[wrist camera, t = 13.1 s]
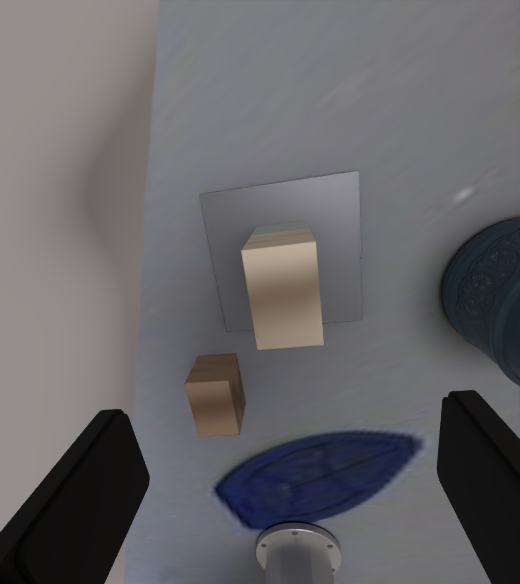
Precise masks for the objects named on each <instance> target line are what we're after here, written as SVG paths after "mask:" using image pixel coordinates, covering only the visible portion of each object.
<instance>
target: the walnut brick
mask: <svg viewBox="0 0 520 584" xmlns="http://www.w3.org/2000/svg"><path fill="white" fill-rule="evenodd" d="M185 386H186V390H187V394H188V398H189V401H190V405H191V409H192V412H193V416H194V420H195V424H196V427H197V431H198V435H199V437H206V436H232V435H240V430H241V425H242V420H243V415H244V409H245V404H246V402H245V397H244V392H243V387H242V381H241V376H240V371H239V366H238V360H237V355H236V354H225V355H212V356H199V357H198V358H197V360H196V362H195V364H194V366H193V368H192V370H191V372H190V374H189V376H188V378H187V380H186V382H185Z"/></svg>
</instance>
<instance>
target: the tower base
mask: <svg viewBox="0 0 520 584" xmlns="http://www.w3.org/2000/svg"><path fill="white" fill-rule="evenodd" d="M199 195H200V201H201V206H202V211H203V216H204V221H205V226H206V231H207V236H208V241H209V246H210V251H211V256H212V261H213V266H214V271H215V276H216V281H217V286H218V291H219V296H220V301H221V306H222V311H223V316H224V321H225V326H226V331H227V332H230V331H242V330H253V329H254V325H253V319H252V313H251V307H250V301H249V295H248V289H247V283H246V277H245V271H244V265H243V259H242V253H241V250H242V249H243V247H244V246H245V244H246V243H247V241H248V240H249V238H250V237H251V236H257V235H265V234H272V233H280V232H288V231H296V230H304V229H310V230H311V232H312V234H313V237H314V239H315V241H316V251H317V264H318V277H319V289H320V302H321V315H322V324H324V323H336V322H347V321H359V320H362V282H361V242H360V202H359V171H354V172H347V173H341V174H334V175H327V176H320V177H314V178H307V179H300V180H293V181H287V182H280V183H273V184H266V185H260V186H253V187H246V188H239V189H233V190H226V191H219V192H212V193H206V194H199Z"/></svg>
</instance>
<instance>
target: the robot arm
mask: <svg viewBox="0 0 520 584" xmlns="http://www.w3.org/2000/svg"><path fill="white" fill-rule="evenodd" d="M437 474H438V478H439V481H440V483H441V485H442V487H443V489H444V491H445V493H446V495H447V497H448V499H449V501H450V503H451V505H452V507H453V509H454V511H455V513H456V515H457V517H458V519H459V521H460V523H461V525H462V527H463V528H464V530H465V532H466V534H467V536H468V538H469V540H470V542H471V544H472V546H473V548H474V550H475V552H476V554H477V556H478V558H479V560H480V562H481V564H482V566H483V568H484V570H485V572H486V574H487V576H488V578H489V580H490V582H491V584H520V439H519V438H518V437H517V436H516V434H515V433H514V432H513V431H512V430H511V429H510V428H509V427H508V426H507V424H506V423H505V422H504V421H503V420H502V419H501V418H500V417H499V416H498V414H497V413H496V412H495V411H494V410H493V409H492V408H491V407H490V406H489V404H488V403H487V402H486V401H485V400H484V399H483V398H482V397H481V396H480V395H479V394H478V393H477V392H476V391H474V390H467V391H451V392H450V393H449V395H448V397H444V398H443V400H442V411H441V423H440V435H439V447H438V460H437ZM149 480H150V476H149V473H148V470H147V467H146V464H145V461H144V459H143V456H142V453H141V450H140V448H139V445H138V442H137V439H136V436H135V434H134V431H133V428H132V425H131V423H130V420H129V417H128V415H127V414H124V412H123V411H122V410H121V409H113V410H102V411H100V412H99V413H98V414H97V415H96V416H95V417H94V418H93V420H92V421H91V422H90V423H89V425H88V426H87V427H86V428H85V429H84V431H83V432H82V433H81V434H80V436H79V437H78V438H77V439H76V441H75V442H74V443H73V444H72V445H71V447H70V448H69V449H68V450H67V451H66V453H65V454H64V455H63V456H62V458H61V459H60V460H59V461H58V462H57V464H56V465H55V466H54V467H53V469H52V470H51V471H50V472H49V473H48V475H47V476H46V477H45V478H44V480H43V481H42V482H41V483H40V484H39V486H38V487H37V488H36V489H35V490H34V492H33V493H32V494H31V495H30V497H29V498H28V499H27V500H26V501H25V503H24V504H23V505H22V506H21V508H20V509H19V510H18V511H17V512H16V514H15V515H14V516H13V517H12V519H11V520H10V521H9V522H8V523H7V525H6V526H5V527H4V528H3V530H2V531H1V532H0V584H104V583H105V581H106V579H107V577H108V575H109V572H110V570H111V568H112V566H113V563H114V561H115V559H116V557H117V555H118V553H119V550H120V548H121V546H122V543H123V541H124V539H125V537H126V535H127V533H128V531H129V528H130V526H131V524H132V522H133V520H134V517H135V515H136V513H137V511H138V509H139V506H140V504H141V502H142V500H143V498H144V495H145V493H146V491H147V489H148V486H149ZM256 557H257V560H258V562H259V564H260V565H261V566H262V567H263V569H264V570H265V584H334V579H333V574H335V573H336V572H337V570H338V569H339V568H340V565H341V563H342V555H341V549H340V546H339V543H338V542H337V541H336V539H335V538H334V537H333V536H332V535H331V534H329V533H328V532H326V531H325V530H323V529H321V528H319V527H316V526H313V525H310V524H304V523H283V524H279V525H276V526H273V527H271V528H269V529H268V530H266V531H265V532H264V533H263V534H262V535H261V536H260V537H259V539H258V541H257V545H256Z"/></svg>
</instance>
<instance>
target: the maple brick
mask: <svg viewBox="0 0 520 584" xmlns="http://www.w3.org/2000/svg"><path fill="white" fill-rule="evenodd" d="M241 253H242V259H243V265H244V271H245V277H246V283H247V289H248V295H249V301H250V307H251V313H252V319H253V325H254V331H255V337H256V344H257V350H265V349H278V348H291V347H303V346H316V345H324V341H323V328H322V315H321V302H320V289H319V277H318V264H317V251H316V241H315V239H314V237H313V234H312V232H311V230H310V229H304V230H296V231H288V232H280V233H272V234H265V235H257V236H251V237H250V238H249V240H248V241H247V243H246V244H245V246H244V247H243V249H242V250H241Z"/></svg>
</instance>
